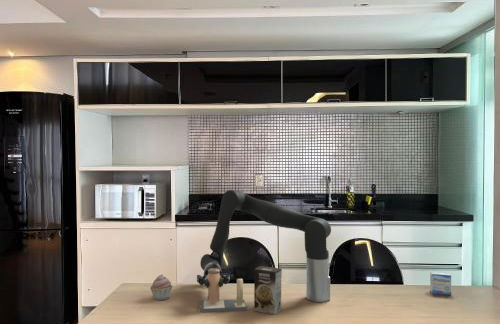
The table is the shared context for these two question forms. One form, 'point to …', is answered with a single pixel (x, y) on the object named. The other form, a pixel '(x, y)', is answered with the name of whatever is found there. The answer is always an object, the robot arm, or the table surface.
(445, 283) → the medicine box
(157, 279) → the cupcake
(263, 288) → the coffee box
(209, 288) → the spice jar
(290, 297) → the table surface
